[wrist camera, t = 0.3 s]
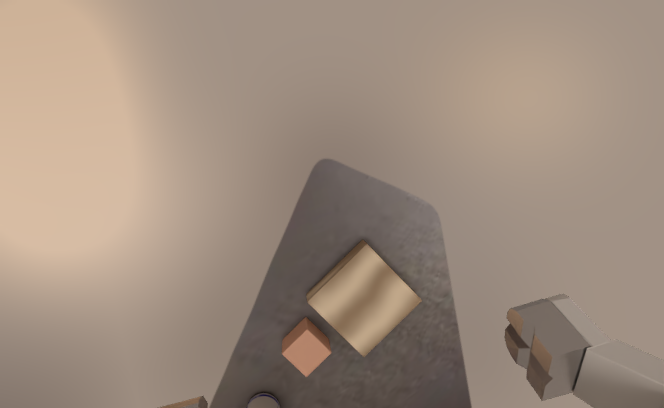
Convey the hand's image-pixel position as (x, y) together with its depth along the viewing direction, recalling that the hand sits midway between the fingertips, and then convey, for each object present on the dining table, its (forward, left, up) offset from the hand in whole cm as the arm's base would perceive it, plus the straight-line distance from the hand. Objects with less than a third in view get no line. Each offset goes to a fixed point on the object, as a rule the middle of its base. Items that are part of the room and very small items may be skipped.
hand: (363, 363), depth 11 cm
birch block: (-17, +4, -53) cm, 56 cm away
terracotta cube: (-16, +15, -53) cm, 57 cm away
